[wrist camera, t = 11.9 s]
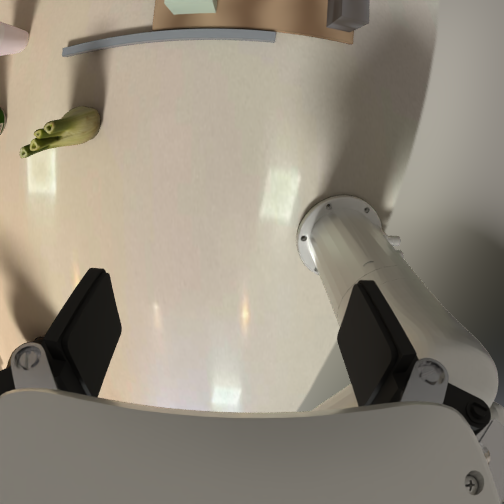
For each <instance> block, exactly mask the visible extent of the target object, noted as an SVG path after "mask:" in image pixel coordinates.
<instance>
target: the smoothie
mask: <svg viewBox="0 0 504 504" xmlns="http://www.w3.org/2000/svg"><path fill="white" fill-rule="evenodd" d="M28 40H29V34H28V32H27V31H25V30H22V29H20V28H17V27H14V26H11V25H9V24H6V23H3V22H0V56H2V55H8V54H15V53H20V52H21V51H23V50H24V48H25V47H26V45H27V43H28Z"/></svg>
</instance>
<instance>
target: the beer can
mask: <svg viewBox="0 0 504 504" xmlns="http://www.w3.org/2000/svg"><path fill="white" fill-rule="evenodd" d="M5 126H6V114H5V112H4V110H3V109H2V108H1V107H0V135H1V134H2V132H3V131H4V129H5Z"/></svg>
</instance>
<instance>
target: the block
mask: <svg viewBox="0 0 504 504" xmlns="http://www.w3.org/2000/svg"><path fill="white" fill-rule="evenodd" d="M164 4H165V5H166V6H167V7H168V8H169V10H170V11H171V12H172V13H173V14H174V15H176V14H194V13H216V8H217V0H164Z"/></svg>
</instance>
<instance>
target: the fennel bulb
mask: <svg viewBox="0 0 504 504" xmlns="http://www.w3.org/2000/svg"><path fill="white" fill-rule="evenodd" d="M99 129H100V115H99V113H98V111H97V110H96V109H93V108H89V107H86V106H79V107H76V108H73V109H71V110H70V111H69V112H67V113H66V114H65V115H64V116H63V117H62V119H59V120H54V121H50V122H48V123H46V124H45V126H44V129H38V130H36V131H35V132H34V135H35V136H36V137H37V138H35V139H33V140H32V141H31V144H29V145H26V146H24V147H22V148H21V149H20V157H21V158H26V157H28V156H30V155H33V154H35V153H38V152H40V151H43V150H46V149H50V148H56V147H61V146H71V145H78V144H82V143H85V142H87V141H89V140H91V139H93V138H94V137H95V136H96V135H97V134H98V132H99Z"/></svg>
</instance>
